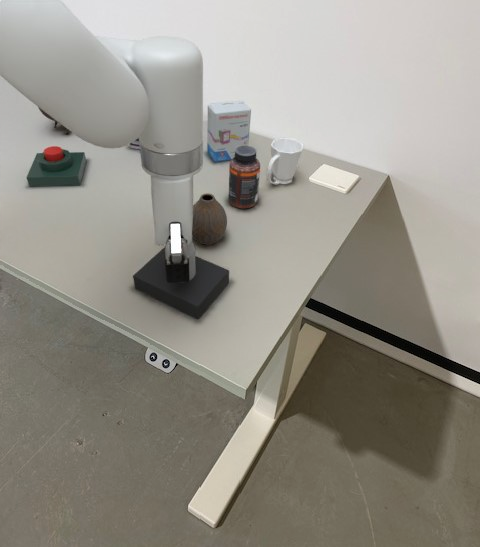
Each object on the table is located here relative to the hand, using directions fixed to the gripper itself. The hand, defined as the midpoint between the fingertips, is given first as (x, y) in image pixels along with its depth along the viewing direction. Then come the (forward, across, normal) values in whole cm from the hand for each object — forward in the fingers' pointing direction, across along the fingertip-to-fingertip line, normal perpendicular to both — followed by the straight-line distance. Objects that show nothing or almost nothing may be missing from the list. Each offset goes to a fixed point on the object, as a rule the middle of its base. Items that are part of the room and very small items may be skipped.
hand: (177, 258), depth 63 cm
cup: (+6, -30, +23) cm, 38 cm away
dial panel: (+6, 0, +1) cm, 6 cm away
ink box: (+6, -42, +13) cm, 44 cm away
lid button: (+3, -36, -24) cm, 44 cm away
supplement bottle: (+6, -23, +14) cm, 28 cm away
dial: (+3, 0, +1) cm, 3 cm away
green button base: (+6, -36, -24) cm, 44 cm away
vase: (+6, -12, +6) cm, 15 cm away
